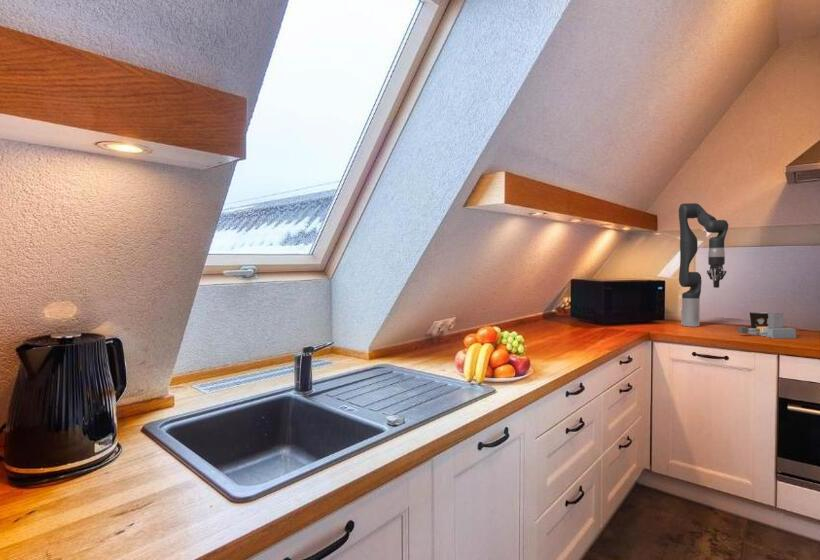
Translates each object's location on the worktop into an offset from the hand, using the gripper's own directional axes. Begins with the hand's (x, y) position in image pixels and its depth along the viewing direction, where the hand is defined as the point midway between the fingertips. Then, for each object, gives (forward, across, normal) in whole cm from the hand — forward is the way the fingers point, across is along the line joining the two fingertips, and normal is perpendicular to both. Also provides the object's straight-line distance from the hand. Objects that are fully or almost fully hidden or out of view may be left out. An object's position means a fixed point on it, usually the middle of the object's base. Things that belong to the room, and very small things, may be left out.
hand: (716, 287), depth 252 cm
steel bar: (+24, -16, -20) cm, 35 cm away
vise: (+25, -12, -20) cm, 34 cm away
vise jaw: (+23, -13, -15) cm, 31 cm away
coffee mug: (+25, +6, -31) cm, 40 cm away
